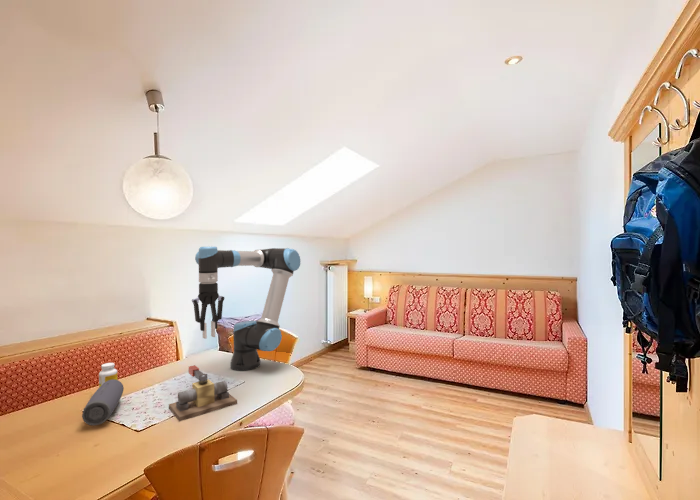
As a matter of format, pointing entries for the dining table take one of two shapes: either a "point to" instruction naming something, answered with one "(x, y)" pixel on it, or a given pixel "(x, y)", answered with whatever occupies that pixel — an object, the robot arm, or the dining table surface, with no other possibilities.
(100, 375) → the supplement bottle
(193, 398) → the valve
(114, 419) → the dining table surface
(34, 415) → the dining table surface
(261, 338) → the robot arm
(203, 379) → the lever
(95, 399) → the bluetooth speaker
